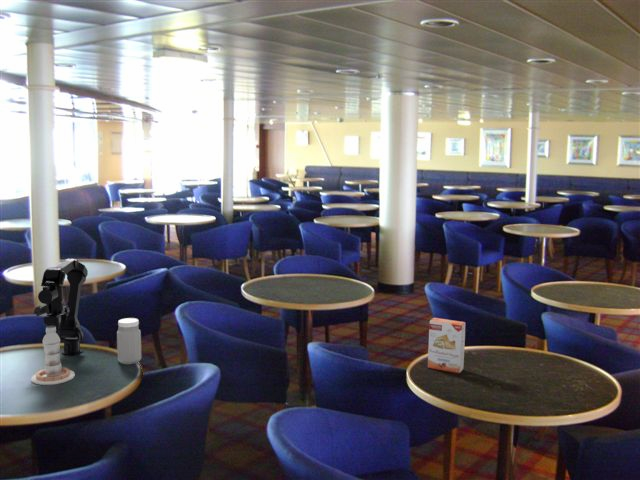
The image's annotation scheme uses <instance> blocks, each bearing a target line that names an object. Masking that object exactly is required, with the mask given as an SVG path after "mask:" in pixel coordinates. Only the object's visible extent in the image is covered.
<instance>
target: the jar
mask: <svg viewBox="0 0 640 480" xmlns="http://www.w3.org/2000/svg"><path fill="white" fill-rule="evenodd" d="M117 325H118V328H117V331H116V346H117V347H116V348H117V351H116V352H117V361H118V362H119V363H120V364H121V365H122V364H123V365H134V364H137V363H139V362H140V361H141V360H142V334H141V333H142V332H141V331H142V330H141V329H139V327H140V326H139V325H140V321H139V319H138V318H135V317H127V318H126V317H125V318H121V319H119V320H118V322H117Z"/></svg>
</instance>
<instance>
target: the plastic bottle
mask: <svg viewBox="0 0 640 480" xmlns="http://www.w3.org/2000/svg"><path fill="white" fill-rule="evenodd" d="M45 333H46V334H45V335H44V336H43V338H42V346H43V350H44V367H43V368H44V372H45V375H46V376H49V377H53V376H58V375H60V374H61V372H62V367H63V366H62V363H61V356H60V346H61V340H60V336H59V333H56V326H47V325H46V327H45Z"/></svg>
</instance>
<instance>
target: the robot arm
mask: <svg viewBox="0 0 640 480" xmlns="http://www.w3.org/2000/svg"><path fill="white" fill-rule="evenodd" d="M88 273H89V272H88V269H87V266H86V265H85V264H84V263H82V262H80V261H79V260H78V259H76V258H66V259H65V260H64V261H63V262H61V263H60V264H58V265H57V266H52V267H51V266H50V267H47V268H46V269H45V271H44V272H43V276H42V280H41V284H40V287H42V290H41V291H39V292H38V295H37V299H38V301H39V302H40V303H41V304H42V305H38V306H35V307H34V309H33V314H34V315H35V316H36V317H37V318H38V317H40V316H42V315H44V314H46V315H45V316H44V317H43V318H42V324H43V325H45V326H46V327H47V326H56V333H57V334H58V336H59V337H60V342H61V341H63V351H62V352H61V355H62V354H63V355H67V356H75V355H78V354H81V353H83V352H84V350H82V349H81V341H82V340H84V332H83V330H82V328H81V324H80V321H79V320H78V316H79V315H78V314H79V313H78V312H79V306H80V298H81V291H82V286H83V285H84V283H85V282H86V280H87V276H88ZM65 279H66V280H67V282H68V284H69V289H68V290H69V291H68V298H67V305H64V302H65V298H64V292H63V289H64V288H63V285H64V282H65Z"/></svg>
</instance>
